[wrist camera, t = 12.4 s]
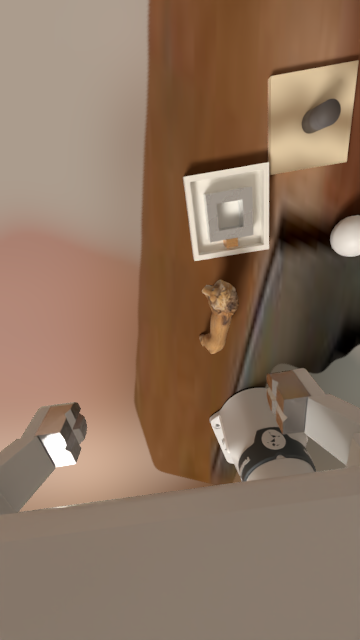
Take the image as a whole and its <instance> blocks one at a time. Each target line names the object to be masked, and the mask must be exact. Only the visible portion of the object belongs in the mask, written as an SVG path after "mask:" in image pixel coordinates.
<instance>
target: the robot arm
mask: <svg viewBox="0 0 360 640" xmlns="http://www.w3.org/2000/svg"><path fill="white" fill-rule="evenodd" d="M266 381H267V383H268V385H269V387H268V388H251V389H247V390H244V391H241V392H239V393H237V394H235V395H234V396H232V397H231V398H230V399H229V400H228V401H227V402H226V403H225V404H224V406H223V407H222V408H221V410H220V411H218V412H217V413H215V414H214V415H212V416H211V417H210V423H211V426H212V428H213V430H214V432H215V435H216V437H217V439H218V442H219V444H220V446H221V449H222V451H223V453H224V456H225V458H226V460H227V462H229V463H232V464H235V467H236V469H237V471H238V473H239V475H240V477H241V480H242V482H238V483H230V484H223V485H216V486H208V487H201V488H194V489H186V490H179V491H171V492H164V493H157V494H149V495H142V496H135V497H128V498H120V499H112V500H105V501H98V502H90V503H84V504H76V505H68V506H61V507H54V508H46V509H39V510H32V511H24V512H19V511H20V509H21V508H22V507H23V506H24V505H25V503H26V502H27V501H28V500H29V499H30V498H31V496H32V495H33V494H34V493H35V492H36V490H37V489H38V488H39V487H40V486H41V485H42V483H43V482H44V481H45V480H46V479H47V477H49V475H50V474H51V473H52V472H53V471H54V469H55V467H58V466H65V465H71V464H76V462H77V459H78V456H79V454H80V451H81V447H80V445H79V444H80V443H81V442H82V441H83V440H84V439H85V435H86V431H87V424H86V420H85V417H84V416H83V415H81V414H80V413H79V412H80V409H81V408H80V406H79V404H78V403H75V402H74V403H66V404H57V405H52V406H43V407H41V408H39V409H38V411H37V412H36V414H35V415H34V417H33V419H32V420H31V422H30V424H29V425H28V427H27V429H26V430H25V432H24V433H23V435H22V437H21V438H20V439H16V440H15V441H14V442H13V443H11V444H10V445H9V446H7V447H6V448H5V449H3V450H2V451H1V452H0V640H360V408H358V407H356V406H354V405H352V404H350V403H348V402H345V401H344V400H341V399H339V398H337V397H335V396H333V395H331V394H325V393H324V391H323V390H322V389H321V388H320V387H319V385H318V384H317V383H316V381H315V380H314V379H313V378H312V376H311V375H310V374H309V373H308V371H307V370H306V369H304V368H299V369H294V370H289V371H282V372H276V373H269V374H267V380H266ZM306 435H308V436H309V437H310V438H312V439H313V440H314V441H316V442H317V443H318V444H319V445H321V446H322V447H323V448H325V449H326V450H327V451H328V452H330V453H331V454H332V455H333V456H335V457H336V458H337V459H339V460H340V461H341V462H343V463H344V464H345V465H346V468H341V469H334V470H326V471H318V472H316V469H315V466H314V464H313V461H312V459H311V457H310V455H309V454H308V452H307V450H306V448H305V447H306V444H307V441H308V438H307V436H306Z"/></svg>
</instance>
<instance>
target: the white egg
mask: <svg viewBox="0 0 360 640" xmlns="http://www.w3.org/2000/svg"><path fill="white" fill-rule="evenodd" d="M330 243H331V246H332V248H333V249H334V251H335V252H337V253H338V254H340V255H342V256H349V257H354V256H358V255H360V215H353V216H350V217H346V218H345V219H343V220H341V221H340V222H339V223H338V224H337V225H336V226H335V227H334V229H333V230H332V232H331V235H330Z"/></svg>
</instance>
